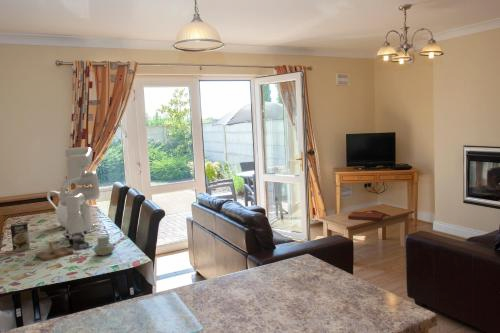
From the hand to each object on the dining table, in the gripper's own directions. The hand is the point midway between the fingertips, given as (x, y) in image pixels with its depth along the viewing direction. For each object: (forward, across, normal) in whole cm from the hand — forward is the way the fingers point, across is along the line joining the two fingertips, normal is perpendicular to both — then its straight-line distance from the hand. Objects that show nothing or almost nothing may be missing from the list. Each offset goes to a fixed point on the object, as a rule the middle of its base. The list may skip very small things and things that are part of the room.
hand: (77, 243), depth 244 cm
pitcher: (+1, -13, -60) cm, 62 cm away
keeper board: (+1, +16, +9) cm, 18 cm away
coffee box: (+1, +26, -21) cm, 34 cm away
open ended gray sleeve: (+1, 0, +4) cm, 4 cm away
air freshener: (+2, -4, +32) cm, 32 cm away
